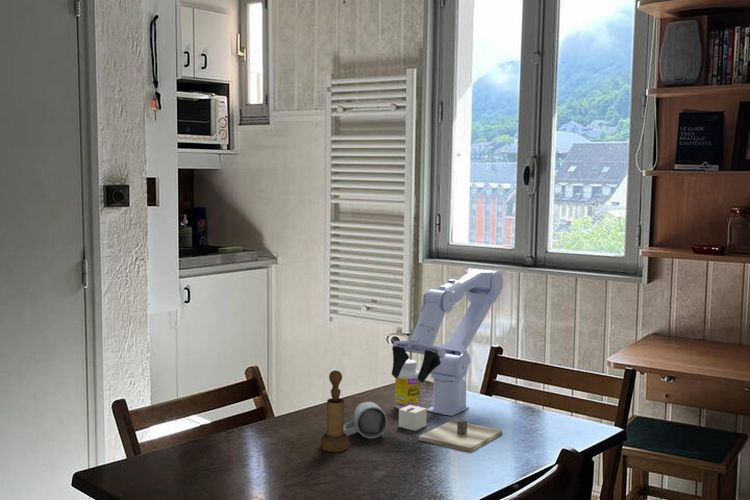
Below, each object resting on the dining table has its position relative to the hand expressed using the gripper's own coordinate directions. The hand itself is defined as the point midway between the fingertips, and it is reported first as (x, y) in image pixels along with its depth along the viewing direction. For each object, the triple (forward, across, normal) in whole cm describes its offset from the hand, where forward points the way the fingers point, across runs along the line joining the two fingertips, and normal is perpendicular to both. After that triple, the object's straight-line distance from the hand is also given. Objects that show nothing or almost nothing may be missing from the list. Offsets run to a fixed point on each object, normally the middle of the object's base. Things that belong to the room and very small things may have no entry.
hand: (407, 378), depth 204 cm
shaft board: (+8, +14, +10) cm, 19 cm away
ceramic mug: (+16, -6, +1) cm, 17 cm away
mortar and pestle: (+24, -6, -8) cm, 26 cm away
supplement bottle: (0, -10, +20) cm, 23 cm away
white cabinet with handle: (+8, 0, +10) cm, 13 cm away
